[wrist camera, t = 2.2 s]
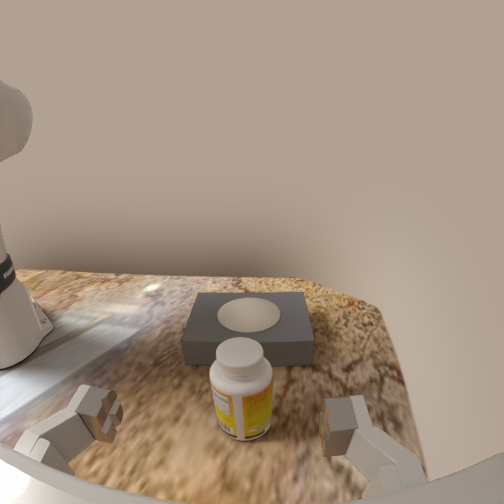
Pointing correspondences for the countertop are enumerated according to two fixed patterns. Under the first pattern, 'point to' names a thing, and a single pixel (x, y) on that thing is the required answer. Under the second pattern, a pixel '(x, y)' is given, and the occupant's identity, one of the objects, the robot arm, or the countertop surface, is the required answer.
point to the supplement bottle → (242, 389)
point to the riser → (250, 326)
